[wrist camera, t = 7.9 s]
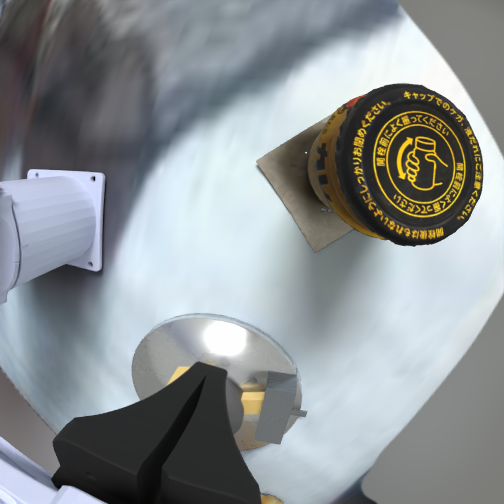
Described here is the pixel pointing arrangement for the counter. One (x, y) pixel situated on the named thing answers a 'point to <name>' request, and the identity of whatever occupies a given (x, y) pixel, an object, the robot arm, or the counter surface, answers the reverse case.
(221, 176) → the counter surface
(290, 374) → the post plate
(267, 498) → the pastry
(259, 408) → the multicoloured piece
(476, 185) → the condiment
